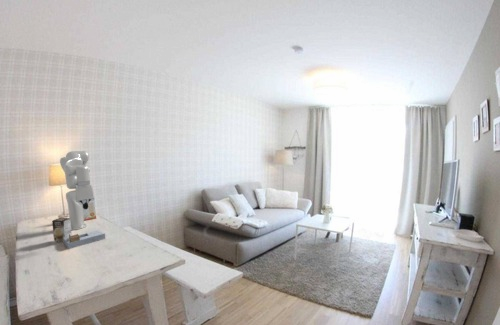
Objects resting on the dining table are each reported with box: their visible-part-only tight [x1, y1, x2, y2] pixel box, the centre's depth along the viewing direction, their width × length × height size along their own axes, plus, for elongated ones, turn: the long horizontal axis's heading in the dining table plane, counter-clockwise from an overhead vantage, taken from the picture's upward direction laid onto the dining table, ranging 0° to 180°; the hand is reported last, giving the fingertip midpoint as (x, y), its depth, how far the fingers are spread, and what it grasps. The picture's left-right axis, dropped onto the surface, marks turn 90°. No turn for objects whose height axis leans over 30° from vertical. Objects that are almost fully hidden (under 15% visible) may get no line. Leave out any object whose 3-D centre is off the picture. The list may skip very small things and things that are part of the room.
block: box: [69, 233, 80, 242], centre depth 164 cm, size 5×5×4 cm
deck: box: [62, 229, 106, 250], centre depth 171 cm, size 16×22×4 cm
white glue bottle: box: [78, 198, 97, 221], centre depth 222 cm, size 14×6×21 cm, turn 125°
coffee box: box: [51, 217, 73, 243], centre depth 172 cm, size 9×6×16 cm
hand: (85, 208), depth 170 cm, fingers closed
